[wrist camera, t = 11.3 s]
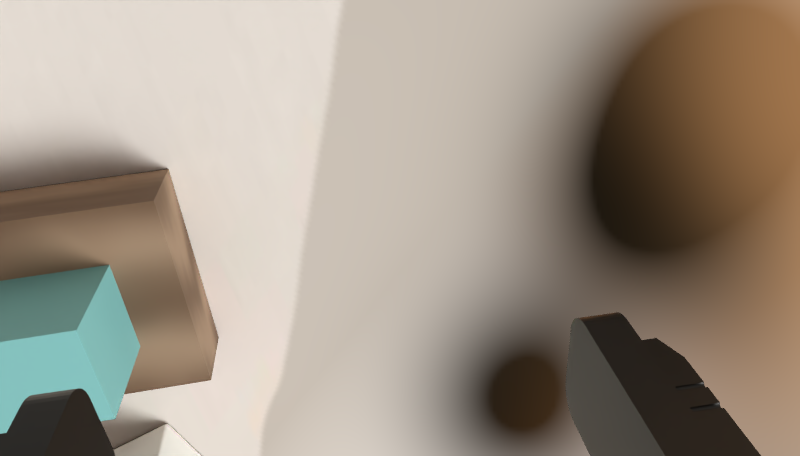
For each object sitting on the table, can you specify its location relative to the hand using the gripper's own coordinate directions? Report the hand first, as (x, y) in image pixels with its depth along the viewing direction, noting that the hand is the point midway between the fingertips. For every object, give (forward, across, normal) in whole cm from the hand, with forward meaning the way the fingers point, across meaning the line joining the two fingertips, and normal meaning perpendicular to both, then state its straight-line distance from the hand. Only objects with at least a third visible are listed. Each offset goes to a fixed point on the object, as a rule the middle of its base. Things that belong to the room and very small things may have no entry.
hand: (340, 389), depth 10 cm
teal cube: (+21, +15, +12) cm, 29 cm away
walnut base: (+25, +15, +12) cm, 32 cm away
